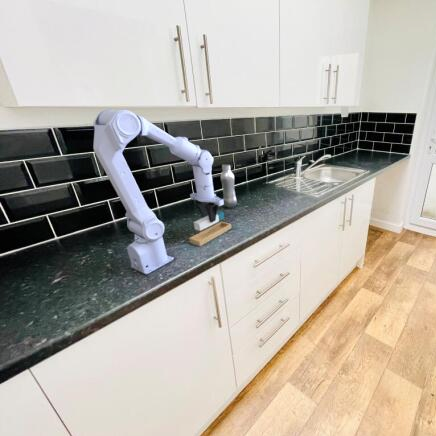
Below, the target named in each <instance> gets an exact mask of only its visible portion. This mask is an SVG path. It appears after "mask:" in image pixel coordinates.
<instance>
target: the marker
mask: <svg viewBox="0 0 436 436" xmlns="http://www.w3.org/2000/svg"><path fill="white" fill-rule="evenodd" d="M223 220H225V213H224V211H223V210H217V214H216V220H215V221H214V222H210V220H209V216H206V217H204V218H199V219H197V220H194V221H193V227H194V230H196V231H200V232H202V231H204V230H206V229H208V228H210V227H212V226H214V225H215V224H217V223H219V222H221V221H223Z"/></svg>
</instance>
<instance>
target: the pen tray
mask: <svg viewBox="0 0 436 436" xmlns="http://www.w3.org/2000/svg"><path fill="white" fill-rule="evenodd" d="M232 228H233V227H232V223H228V222H225V221H223V220H221V221H219V222H217V223H215V224H213V225H211V226H209V227H207V228H205V229H203V230H201V231H200V232H198V233H196V234H194V235H192V236H190V237H188V239H189V243H190V244H193V245H196V246H198V247H201V246H203V245H205V244H207V243H209V242H210V241H213V240H214V239H216V238H217V237H219V236H221V235H222V234H225V233H226V232H228V231H229V230H231V229H232Z"/></svg>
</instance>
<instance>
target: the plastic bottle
mask: <svg viewBox="0 0 436 436" xmlns="http://www.w3.org/2000/svg"><path fill="white" fill-rule="evenodd" d="M221 169H222V171H221V173H220V183H221V185H222V191H223V197H222V199H223V201H224V205H223V206H224V207H225V208H235V207H236V206H237V205H238V200H237V196H236V190H235V175H234V173H233V172H232V170H231V169H232V168H231V164H228V163H227V164H222V165H221Z"/></svg>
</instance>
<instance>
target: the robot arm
mask: <svg viewBox="0 0 436 436" xmlns="http://www.w3.org/2000/svg"><path fill="white" fill-rule="evenodd" d="M92 124H93V128H94V133H93V151H94V153H95V155H96V157H97V159H98V161H99V163H100V164H101V167H102V168H103V170H104V172H105V174H106V176H107V177H108V179H109V181H110V183H111V186H112V187H113V189H114V190H115V192H116V195H117V196H118V198H119V199H120V202H121V203H122V205H123V207H124V209H125V211H126V212H125V218H126V223H127V224H126V225H127V228H128V230H129V231H130V233H131V232H132V233H133V234H134V240H133V242H132V243H130V244H129V245H128V246H127V247H126V251H127V254H128V258H129V262H130V264H131V265H130V268H132V269H134V270H136V271H138V272H140V273H142V274H144V275H149V274H150V273H153V272H154V271H156V270H158V269H160V268H162V267H163V266H165V265H166V264H168V263H170V262H172V261H174V260H175V258H174V257H173V256H170V255H168V253H167V250H166V245H165V241H164V238H163V235H164V233H165V224H164V222H163V221H161V220H159V219H158V218H157V215H156V213H155V212H154V211H153V210H152V209H151V208H150V207H149V206H148V204H147V202H146V200H145V198H144V195H143V194H142V192H141V190H140V187H139V185H138V184H137V182H136V179H135V177H134V176H133V173H132V171H131V169H130V167H129V165H128V163H127V161H126V159H125V157H124V155H123V152H124V151H125V148H126V146H127V145H128V144H129V143H130V142H131V141H133V140H134V139H135V138H136V137H137V136H144V137H146V138H148V139H151V140H153V141H155V142H157V143H159V144H161V145H163V146H165V147H167V148H168V149H169V151H170V153H171V154H172V155H174V156H176V157H178V158H180V159H182V160H184V161H186V162H187V163H188V164H189V165H190V166H192V171H193V177H194V185H195V191H196V192H192V193H190V194H189V197H190V200H193V201H194V200H195V201H196V202H194V203H193V204H194V206H195V208H197V210H198V211H199V213H200V216H201V217H202V218H204V217H206V216H209V220H210V222H214V221H215V220H216V214H217V211H219V210H218V209H219V207H221V206H225V205H224V201H223V198H220V197H219V196H217V193H215V190H214V189H215V188H214V182H213V175H212V169H213V167H212V166H213V164H214V157H213V156H212V154H211V153H210V152H209V150H207V149H201V148H200V146H199V145H198V144H194V143H192V142H190V141H189V138H187V137H186V136H176V137H174V136H172V135H171V134H169V133H167V132H166V131H165V130H163V129H161V128H160V127H158V126H157V125H155V124H153V123H151V122H150V121H149V120H147V119H145V118H144V117H143V116H140V115H137V114H136V113H134V112H133V111H130V110H129V109H120V110H116V109H115V110H113V109H104V110H101V111H100V112H99V113H98V114H97V115H96V117H95V119H94V120H93V121H92ZM202 218H201V219H202Z"/></svg>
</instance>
